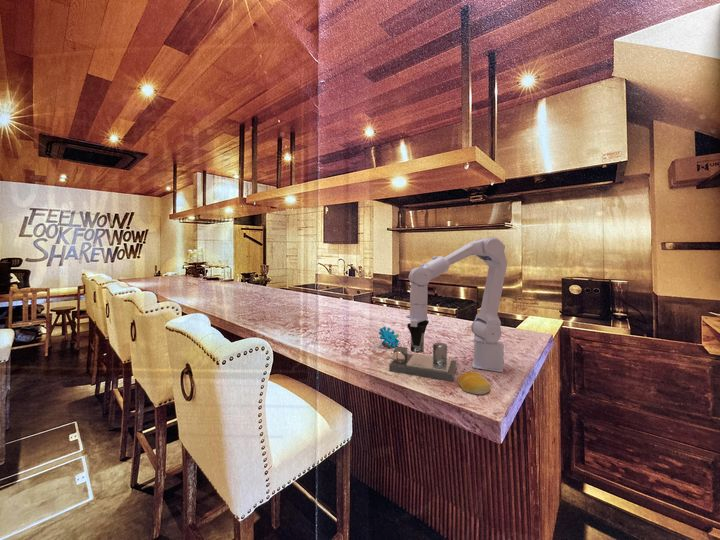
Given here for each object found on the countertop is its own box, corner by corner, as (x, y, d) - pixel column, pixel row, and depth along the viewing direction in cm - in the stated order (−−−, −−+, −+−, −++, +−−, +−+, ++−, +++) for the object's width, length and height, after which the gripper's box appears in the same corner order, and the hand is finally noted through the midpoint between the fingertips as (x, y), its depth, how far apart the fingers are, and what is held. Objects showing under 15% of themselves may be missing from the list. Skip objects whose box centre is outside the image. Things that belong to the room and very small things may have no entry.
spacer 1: (425, 349, 99) (425, 332, 99) (421, 353, 95) (422, 335, 95) (412, 348, 101) (413, 331, 101) (408, 351, 97) (409, 334, 97)
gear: (387, 346, 115) (377, 325, 121) (378, 354, 118) (369, 333, 124) (405, 345, 122) (395, 325, 128) (397, 352, 125) (387, 332, 131)
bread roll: (465, 395, 79) (465, 381, 79) (455, 381, 88) (455, 368, 88) (495, 396, 79) (496, 381, 79) (482, 381, 88) (482, 369, 88)
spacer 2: (447, 361, 96) (447, 343, 96) (445, 366, 92) (446, 347, 92) (434, 359, 98) (434, 342, 98) (431, 364, 94) (432, 345, 94)
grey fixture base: (456, 366, 99) (456, 350, 99) (452, 381, 87) (453, 363, 87) (399, 358, 107) (399, 343, 107) (388, 370, 95) (388, 353, 95)
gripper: (411, 299, 105) (411, 336, 106) (401, 305, 92) (400, 347, 93) (431, 300, 103) (430, 338, 103) (423, 307, 89) (422, 350, 90)
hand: (418, 343), depth 98 cm, fingers closed on spacer 1, 4 cm apart
